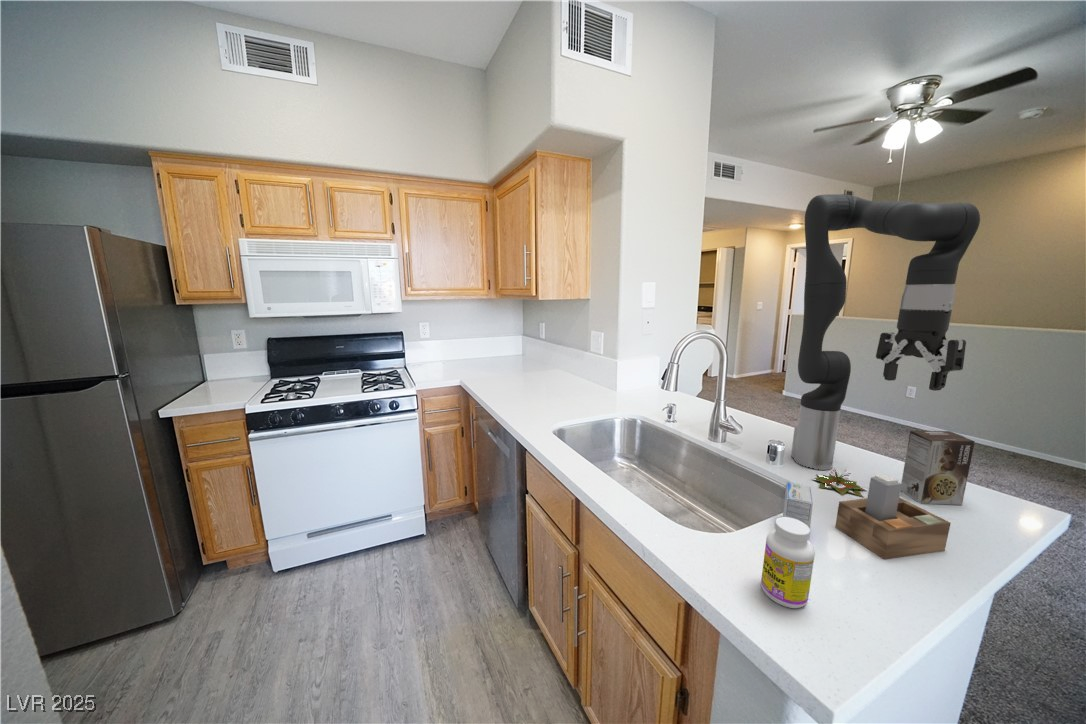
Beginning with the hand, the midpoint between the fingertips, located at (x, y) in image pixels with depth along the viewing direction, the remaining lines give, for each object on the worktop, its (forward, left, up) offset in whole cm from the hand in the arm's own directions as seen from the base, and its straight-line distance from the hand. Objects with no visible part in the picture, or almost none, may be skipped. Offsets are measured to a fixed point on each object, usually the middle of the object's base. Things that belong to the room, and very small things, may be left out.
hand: (911, 384), depth 79 cm
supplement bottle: (+16, -41, -30) cm, 53 cm away
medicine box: (+1, -25, -30) cm, 39 cm away
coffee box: (-4, +17, -30) cm, 35 cm away
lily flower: (-13, +1, -31) cm, 33 cm away
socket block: (+7, -9, -30) cm, 32 cm away
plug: (+7, -12, -27) cm, 30 cm away
